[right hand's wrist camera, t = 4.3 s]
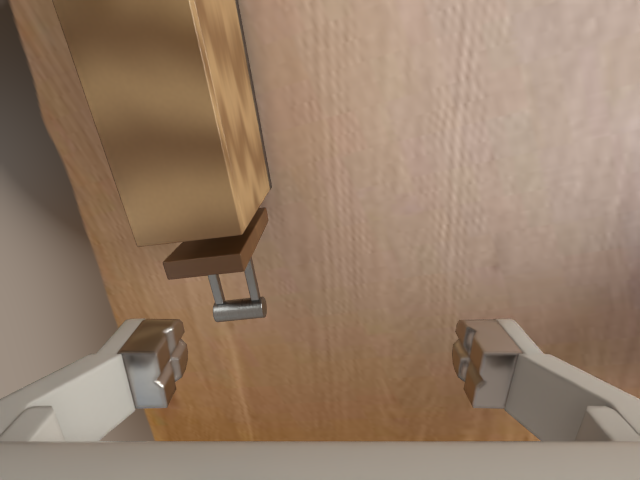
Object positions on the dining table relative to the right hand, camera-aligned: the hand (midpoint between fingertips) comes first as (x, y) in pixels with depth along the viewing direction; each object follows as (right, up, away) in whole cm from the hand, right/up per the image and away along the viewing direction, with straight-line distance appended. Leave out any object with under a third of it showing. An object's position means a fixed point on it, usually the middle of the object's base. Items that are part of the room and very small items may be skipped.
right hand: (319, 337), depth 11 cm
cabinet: (-8, +16, +16) cm, 24 cm away
